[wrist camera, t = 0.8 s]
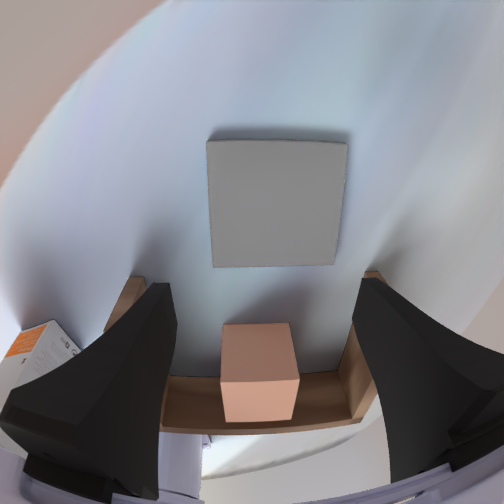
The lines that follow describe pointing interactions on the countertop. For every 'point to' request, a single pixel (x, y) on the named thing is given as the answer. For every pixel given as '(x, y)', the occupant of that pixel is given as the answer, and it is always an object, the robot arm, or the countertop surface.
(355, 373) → the open box
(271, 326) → the block
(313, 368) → the countertop surface
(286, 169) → the mat
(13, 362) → the skincare box
